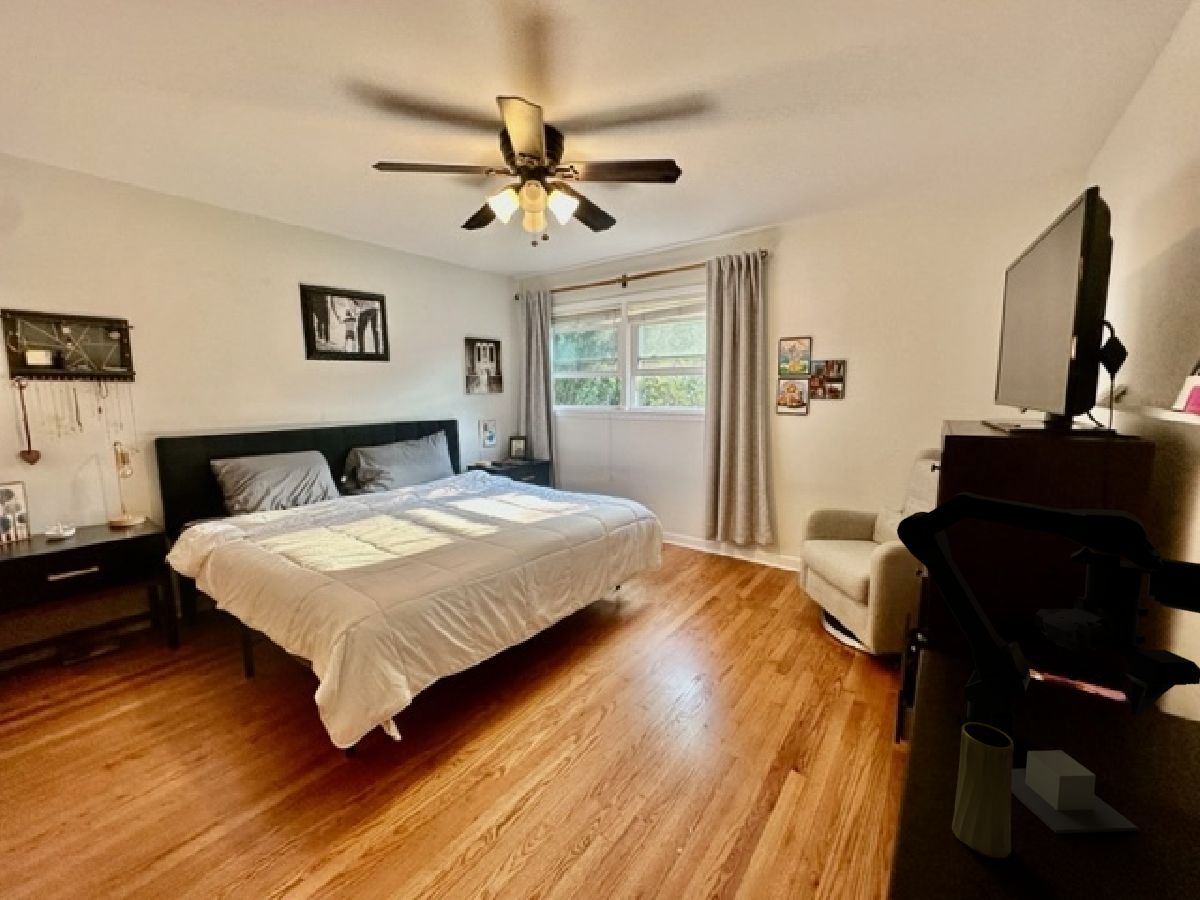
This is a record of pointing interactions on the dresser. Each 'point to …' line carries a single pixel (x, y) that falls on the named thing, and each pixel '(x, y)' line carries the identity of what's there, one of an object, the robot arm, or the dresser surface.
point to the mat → (1069, 811)
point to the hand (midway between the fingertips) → (1102, 696)
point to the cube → (1060, 780)
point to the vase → (984, 790)
